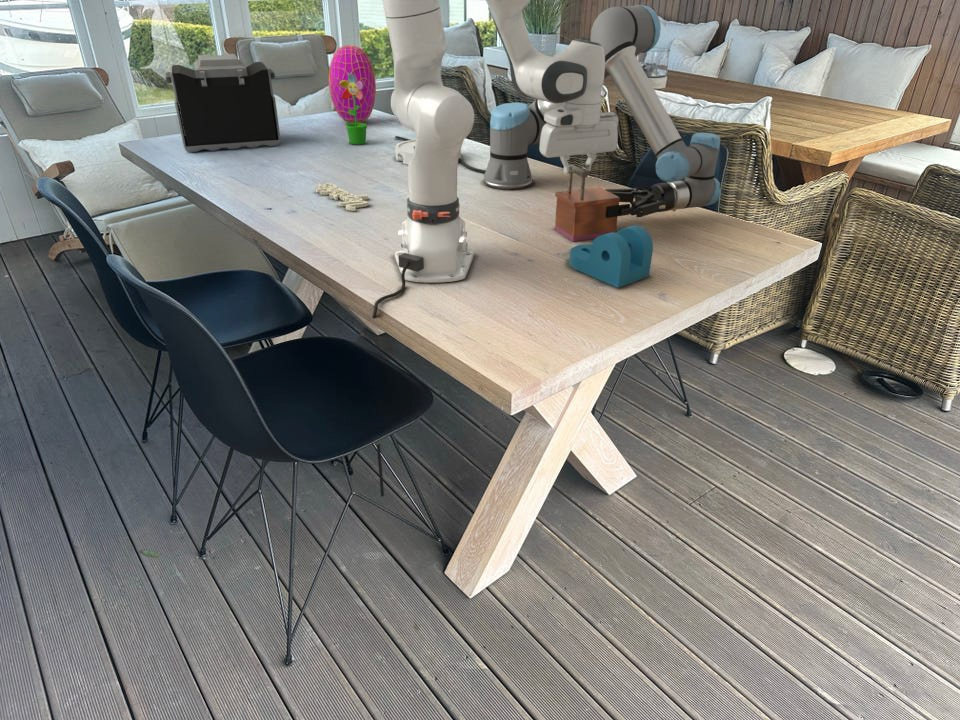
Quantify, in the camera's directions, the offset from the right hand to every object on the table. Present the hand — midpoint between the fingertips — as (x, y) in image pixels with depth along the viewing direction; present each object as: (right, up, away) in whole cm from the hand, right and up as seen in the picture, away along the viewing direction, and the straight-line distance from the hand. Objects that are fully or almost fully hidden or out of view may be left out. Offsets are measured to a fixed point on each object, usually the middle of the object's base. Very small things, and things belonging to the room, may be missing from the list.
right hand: (596, 206), depth 178 cm
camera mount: (-2, -19, -19) cm, 27 cm away
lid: (-3, +1, -2) cm, 4 cm away
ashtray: (-48, +32, +66) cm, 88 cm away
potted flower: (-77, +43, +84) cm, 122 cm away
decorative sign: (-70, +8, +26) cm, 75 cm away
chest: (-3, -6, +2) cm, 7 cm away
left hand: (-6, +7, -7) cm, 11 cm away
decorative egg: (-83, +62, +116) cm, 155 cm away
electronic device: (-124, +42, +82) cm, 154 cm away
